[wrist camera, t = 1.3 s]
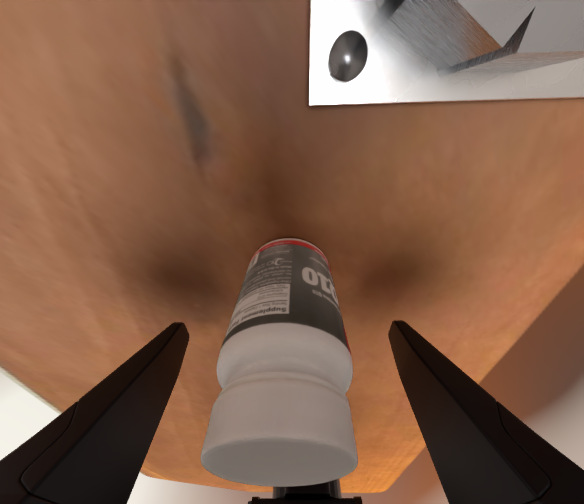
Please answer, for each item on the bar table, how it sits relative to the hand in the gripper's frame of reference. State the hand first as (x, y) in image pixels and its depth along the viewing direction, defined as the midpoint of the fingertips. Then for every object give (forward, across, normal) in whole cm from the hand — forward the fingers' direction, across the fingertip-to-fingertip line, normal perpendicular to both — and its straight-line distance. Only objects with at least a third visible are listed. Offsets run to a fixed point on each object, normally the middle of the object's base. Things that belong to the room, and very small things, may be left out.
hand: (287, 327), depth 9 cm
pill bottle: (+4, 0, 0) cm, 4 cm away
